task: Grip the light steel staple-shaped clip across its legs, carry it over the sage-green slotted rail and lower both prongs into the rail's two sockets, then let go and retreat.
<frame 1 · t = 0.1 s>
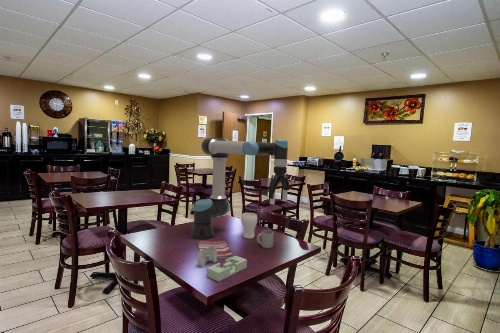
hand: (278, 202, 164), 28 cm above the table, fingers open, 13 cm apart
rail: (227, 271, 135), on the table
cup 2: (248, 237, 188), on the table
clip: (207, 263, 143), on the table
cup: (264, 246, 171), on the table
dish towel: (214, 251, 161), on the table
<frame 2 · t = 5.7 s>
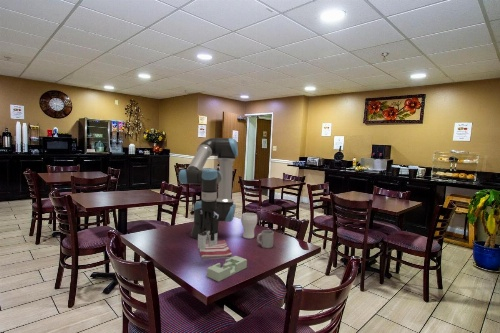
hand: (207, 245, 143), 9 cm above the table, fingers closed on clip, 4 cm apart
clip: (207, 246, 143), point 9 cm above the table, touching gripper
everything else where it was.
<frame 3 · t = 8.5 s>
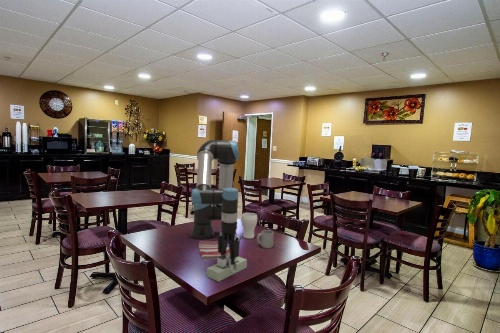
hand: (227, 269, 134), 1 cm above the table, fingers closed on clip, rail, 4 cm apart
clip: (227, 269, 134), point 1 cm above the table, touching gripper, rail
everything else where it was.
when the fingers open (1 cm above the table, at t = 8.9 s): clip stays where it is, resting on rail.
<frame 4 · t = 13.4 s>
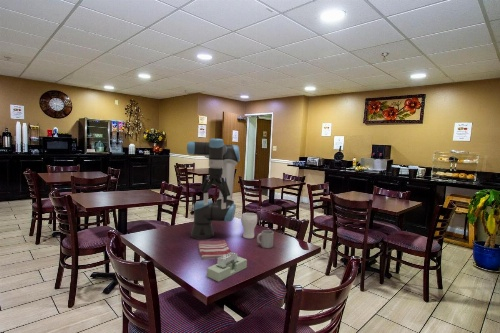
hand: (214, 206, 153), 27 cm above the table, fingers open, 13 cm apart
clip: (227, 269, 134), point 1 cm above the table, touching rail
everything else where it was.
at the end: clip 0.4 cm off-centre on the rail, point 1.0 cm above the rail's base; clip tilted 0°; the gripper is holding nothing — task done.
